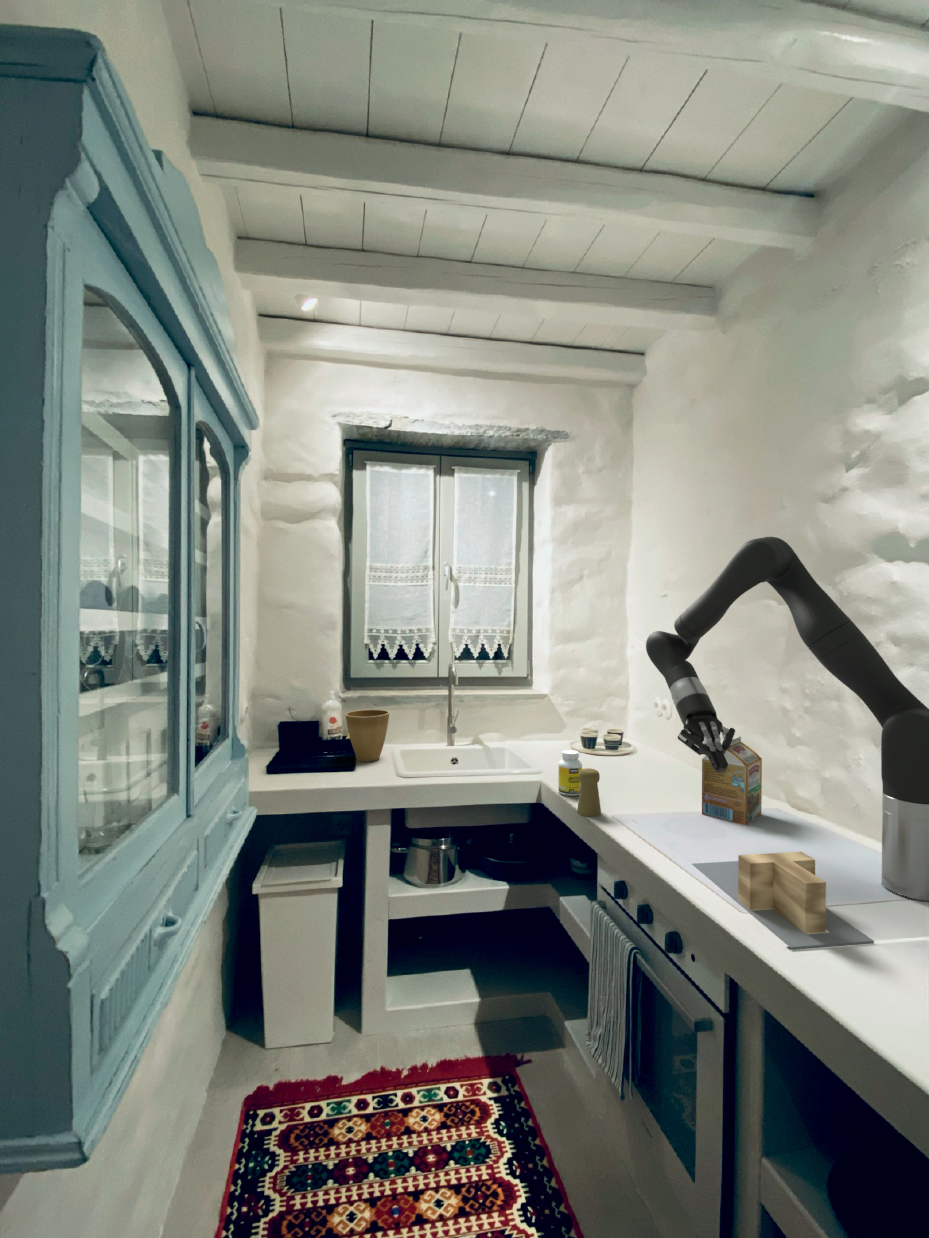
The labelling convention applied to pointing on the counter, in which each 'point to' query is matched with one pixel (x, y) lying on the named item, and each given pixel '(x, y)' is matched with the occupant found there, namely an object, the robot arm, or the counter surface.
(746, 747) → the milk carton
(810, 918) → the oak T block
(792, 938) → the slate mat
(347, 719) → the plant pot
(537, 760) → the counter surface
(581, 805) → the tan rounded upright piece
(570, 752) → the pill bottle
